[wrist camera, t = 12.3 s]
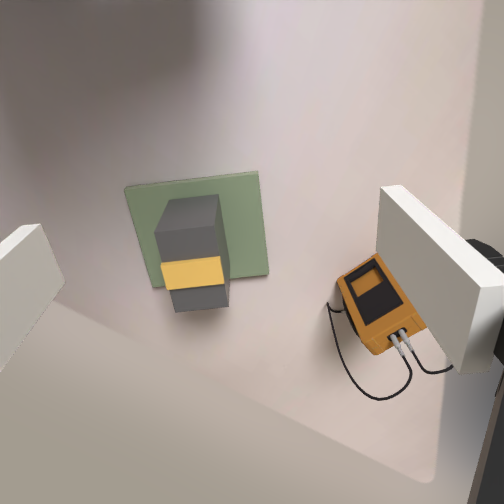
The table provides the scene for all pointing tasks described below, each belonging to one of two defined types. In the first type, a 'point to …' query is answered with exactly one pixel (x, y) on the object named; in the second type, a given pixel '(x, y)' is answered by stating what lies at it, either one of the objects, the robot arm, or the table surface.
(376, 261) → the multimeter
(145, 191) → the board
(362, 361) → the table surface
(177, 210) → the block
